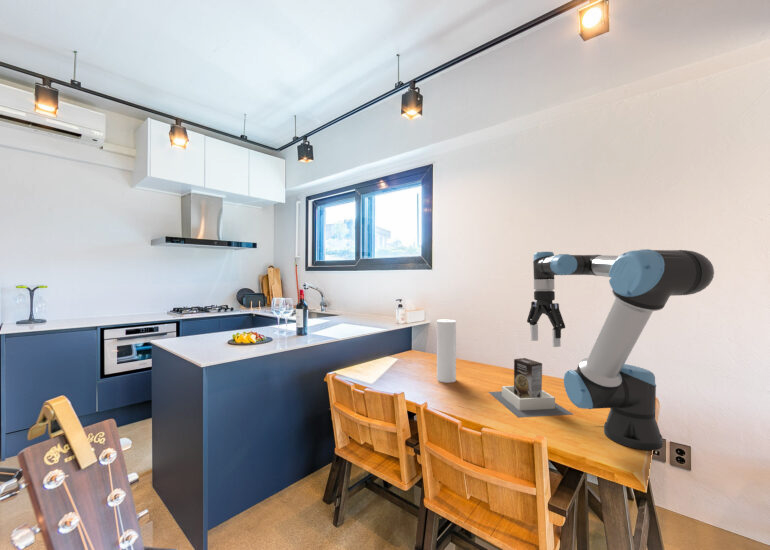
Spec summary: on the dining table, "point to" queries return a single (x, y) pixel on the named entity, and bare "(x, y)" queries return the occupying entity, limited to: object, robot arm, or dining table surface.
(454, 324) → the cylinder container
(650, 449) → the robot arm
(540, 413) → the mat
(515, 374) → the coffee box
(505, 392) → the tray
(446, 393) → the dining table surface
